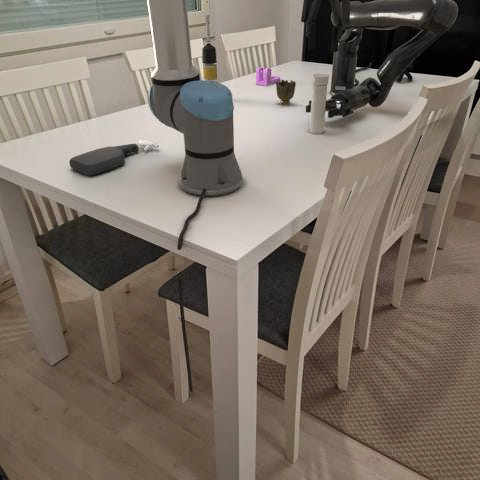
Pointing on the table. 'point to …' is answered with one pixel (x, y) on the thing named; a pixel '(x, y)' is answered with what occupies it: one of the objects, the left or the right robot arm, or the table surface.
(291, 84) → the cup
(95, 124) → the table surface
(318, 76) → the lid
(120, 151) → the spray bottle
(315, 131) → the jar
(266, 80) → the bracket
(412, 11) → the right robot arm
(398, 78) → the squiggle
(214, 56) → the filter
